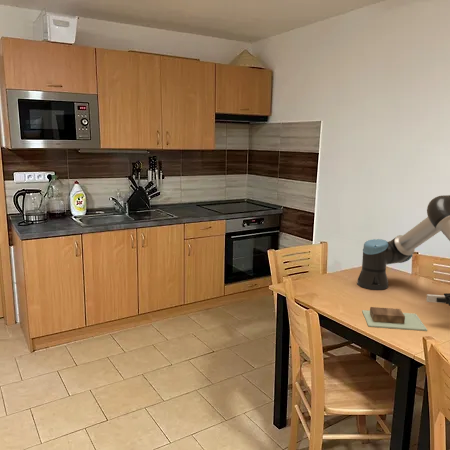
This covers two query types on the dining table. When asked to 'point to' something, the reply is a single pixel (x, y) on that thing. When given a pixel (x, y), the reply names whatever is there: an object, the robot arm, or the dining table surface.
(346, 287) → the dining table surface
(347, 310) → the dining table surface
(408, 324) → the mat
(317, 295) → the dining table surface
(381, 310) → the slim walnut box
